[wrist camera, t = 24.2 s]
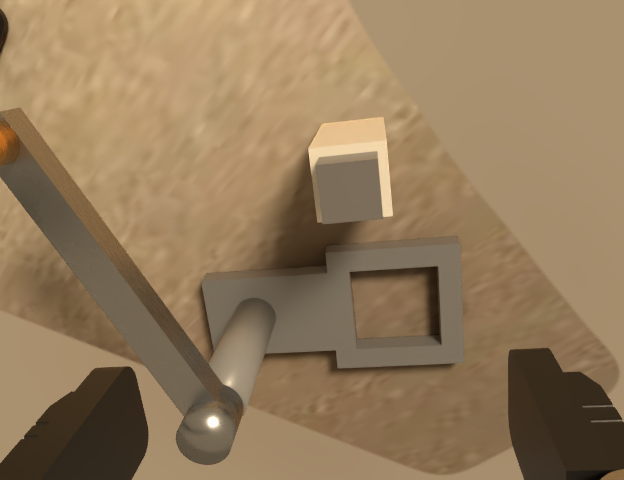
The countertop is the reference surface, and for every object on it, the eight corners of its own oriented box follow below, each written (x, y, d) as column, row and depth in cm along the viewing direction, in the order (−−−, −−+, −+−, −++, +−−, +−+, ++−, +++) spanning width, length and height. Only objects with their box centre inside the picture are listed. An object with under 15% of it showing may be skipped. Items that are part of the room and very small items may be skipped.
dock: (222, 363, 45) (174, 469, 34) (203, 254, 42) (143, 331, 31) (461, 352, 43) (491, 462, 32) (457, 236, 40) (490, 313, 29)
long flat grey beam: (253, 414, 32) (237, 465, 28) (212, 434, 33) (191, 486, 29) (26, 102, 27) (-29, 113, 24) (-16, 133, 28) (-76, 149, 24)
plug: (329, 182, 40) (313, 234, 29) (322, 123, 39) (303, 155, 28) (388, 177, 39) (394, 227, 29) (383, 117, 38) (387, 147, 28)
